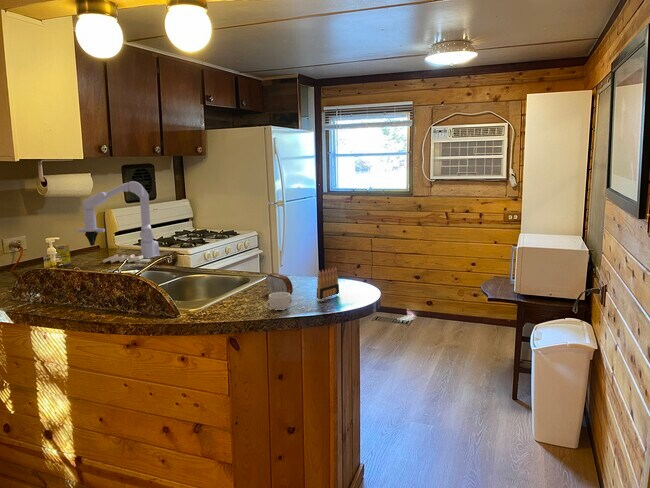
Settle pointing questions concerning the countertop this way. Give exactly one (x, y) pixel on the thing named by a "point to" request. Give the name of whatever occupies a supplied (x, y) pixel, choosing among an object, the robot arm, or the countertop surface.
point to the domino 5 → (142, 261)
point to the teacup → (279, 300)
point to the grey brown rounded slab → (278, 283)
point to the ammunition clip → (327, 283)
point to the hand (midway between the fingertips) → (92, 245)
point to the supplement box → (63, 253)
